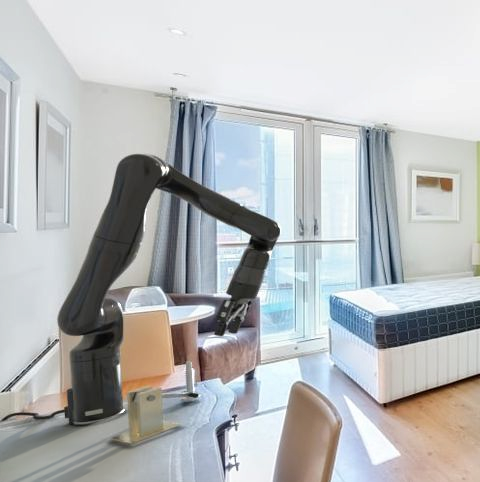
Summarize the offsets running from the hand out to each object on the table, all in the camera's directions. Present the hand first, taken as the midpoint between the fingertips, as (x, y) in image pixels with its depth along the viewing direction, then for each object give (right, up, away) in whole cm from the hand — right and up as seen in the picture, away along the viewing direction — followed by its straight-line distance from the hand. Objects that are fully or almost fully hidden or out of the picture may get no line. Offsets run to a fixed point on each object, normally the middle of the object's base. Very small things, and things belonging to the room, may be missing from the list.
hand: (225, 334), depth 127 cm
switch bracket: (-4, -21, -19) cm, 29 cm away
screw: (-10, -21, 0) cm, 23 cm away
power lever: (-3, -14, -16) cm, 21 cm away
